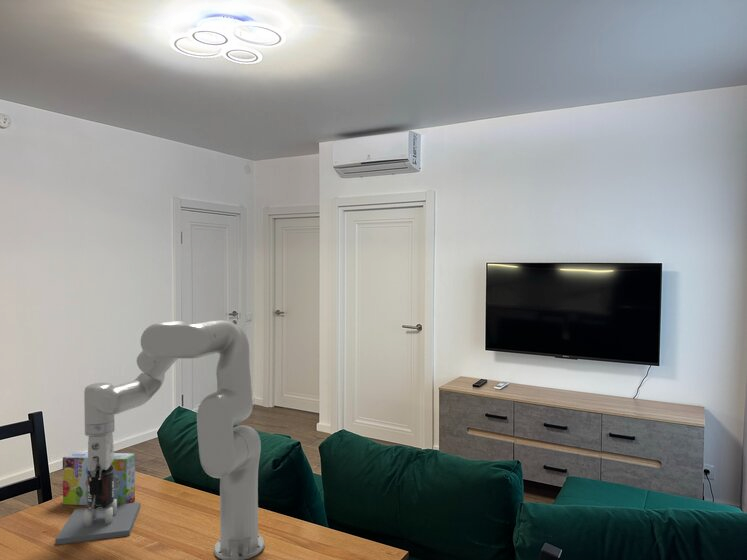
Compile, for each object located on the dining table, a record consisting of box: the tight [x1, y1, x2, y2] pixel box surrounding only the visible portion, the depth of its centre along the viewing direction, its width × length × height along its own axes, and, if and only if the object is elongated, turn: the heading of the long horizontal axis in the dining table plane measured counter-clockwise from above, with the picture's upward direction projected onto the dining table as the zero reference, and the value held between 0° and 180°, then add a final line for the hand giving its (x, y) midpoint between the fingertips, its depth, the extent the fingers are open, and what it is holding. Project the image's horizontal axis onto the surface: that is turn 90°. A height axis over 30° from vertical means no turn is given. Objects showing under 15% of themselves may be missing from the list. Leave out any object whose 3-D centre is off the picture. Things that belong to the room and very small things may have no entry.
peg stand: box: [54, 499, 141, 545], centre depth 149 cm, size 18×18×6 cm
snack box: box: [62, 451, 136, 506], centre depth 163 cm, size 21×6×15 cm, turn 84°
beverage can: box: [87, 461, 114, 509], centre depth 149 cm, size 7×7×12 cm
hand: (100, 486), depth 149 cm, fingers open, 9 cm apart
